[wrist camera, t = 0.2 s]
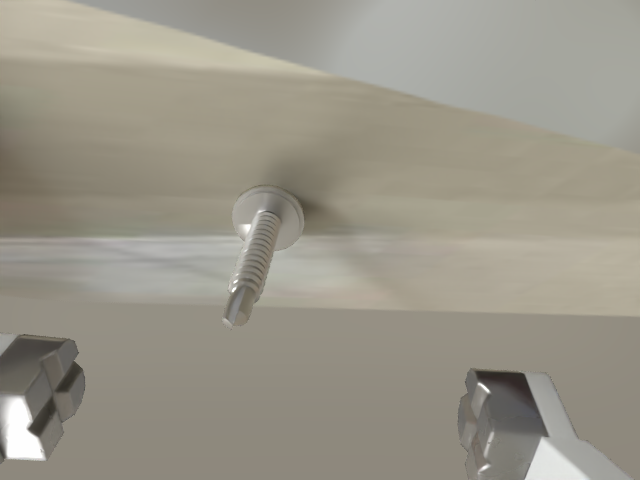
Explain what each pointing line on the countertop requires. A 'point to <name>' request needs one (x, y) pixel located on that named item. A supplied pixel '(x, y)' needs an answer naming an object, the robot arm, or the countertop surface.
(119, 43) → the countertop surface
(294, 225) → the screw
